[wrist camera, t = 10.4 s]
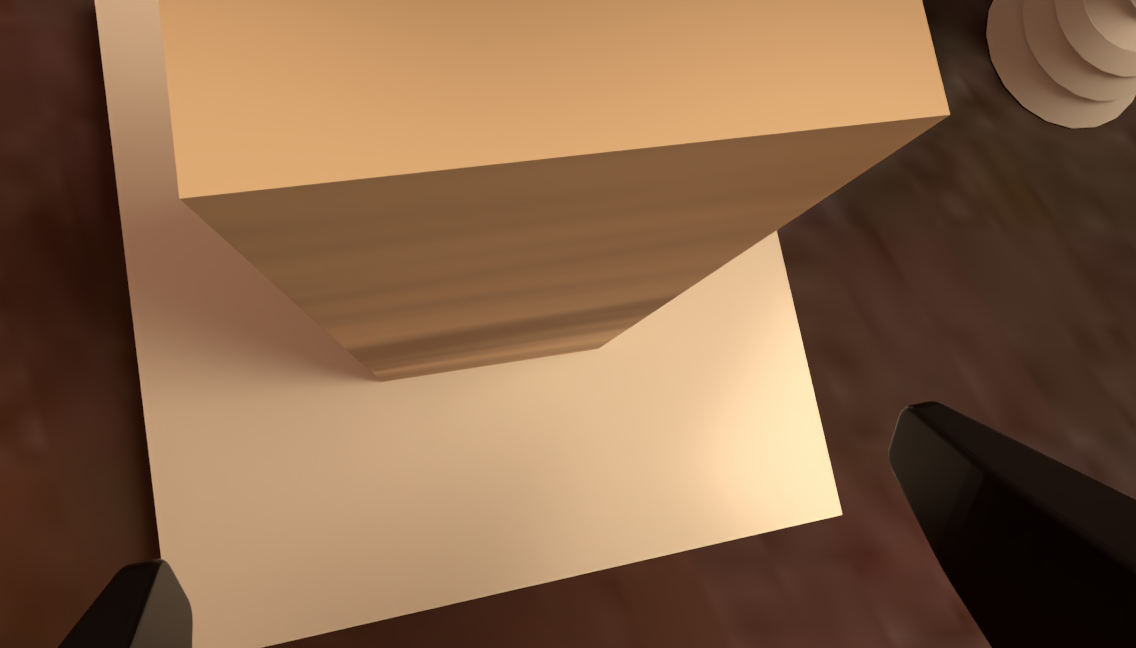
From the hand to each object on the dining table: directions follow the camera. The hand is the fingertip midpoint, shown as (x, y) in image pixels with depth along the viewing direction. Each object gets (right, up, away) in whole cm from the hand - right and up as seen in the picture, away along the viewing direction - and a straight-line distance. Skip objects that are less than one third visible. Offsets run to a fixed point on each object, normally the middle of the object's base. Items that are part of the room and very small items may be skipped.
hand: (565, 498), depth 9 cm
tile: (-2, +4, +9) cm, 10 cm away
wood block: (-2, +4, +9) cm, 10 cm away
